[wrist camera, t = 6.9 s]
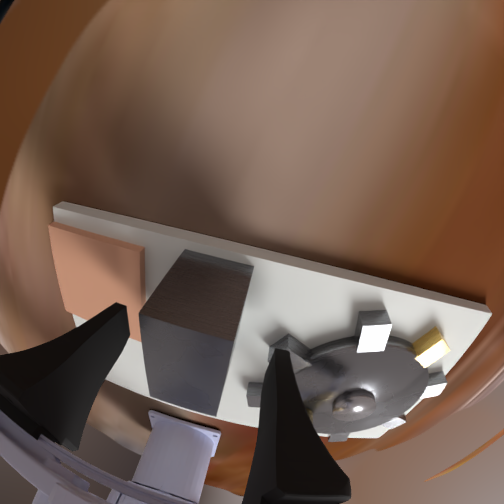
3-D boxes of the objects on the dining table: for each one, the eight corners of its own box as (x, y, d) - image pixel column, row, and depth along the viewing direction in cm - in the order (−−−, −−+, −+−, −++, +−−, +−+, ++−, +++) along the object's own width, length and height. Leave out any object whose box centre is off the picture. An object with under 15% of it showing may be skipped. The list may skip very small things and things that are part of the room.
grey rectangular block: (234, 347, 16) (216, 416, 12) (179, 332, 16) (149, 396, 12) (254, 266, 13) (234, 341, 9) (184, 248, 13) (138, 313, 9)
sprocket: (294, 439, 22) (289, 489, 17) (214, 351, 17) (190, 426, 12) (440, 399, 17) (453, 451, 12) (441, 278, 12) (487, 352, 7)
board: (377, 429, 22) (378, 442, 20) (97, 366, 22) (89, 377, 21) (486, 305, 13) (496, 319, 12) (62, 201, 14) (46, 210, 13)
